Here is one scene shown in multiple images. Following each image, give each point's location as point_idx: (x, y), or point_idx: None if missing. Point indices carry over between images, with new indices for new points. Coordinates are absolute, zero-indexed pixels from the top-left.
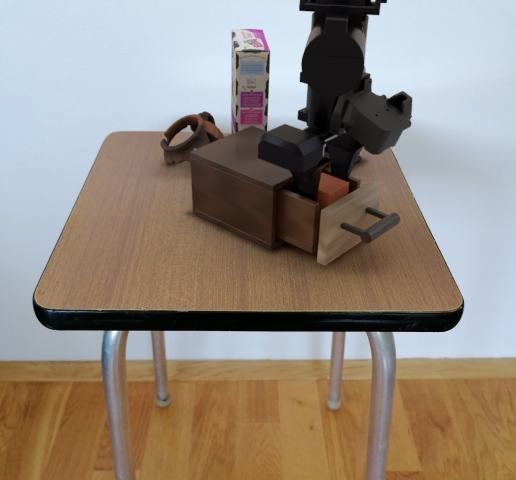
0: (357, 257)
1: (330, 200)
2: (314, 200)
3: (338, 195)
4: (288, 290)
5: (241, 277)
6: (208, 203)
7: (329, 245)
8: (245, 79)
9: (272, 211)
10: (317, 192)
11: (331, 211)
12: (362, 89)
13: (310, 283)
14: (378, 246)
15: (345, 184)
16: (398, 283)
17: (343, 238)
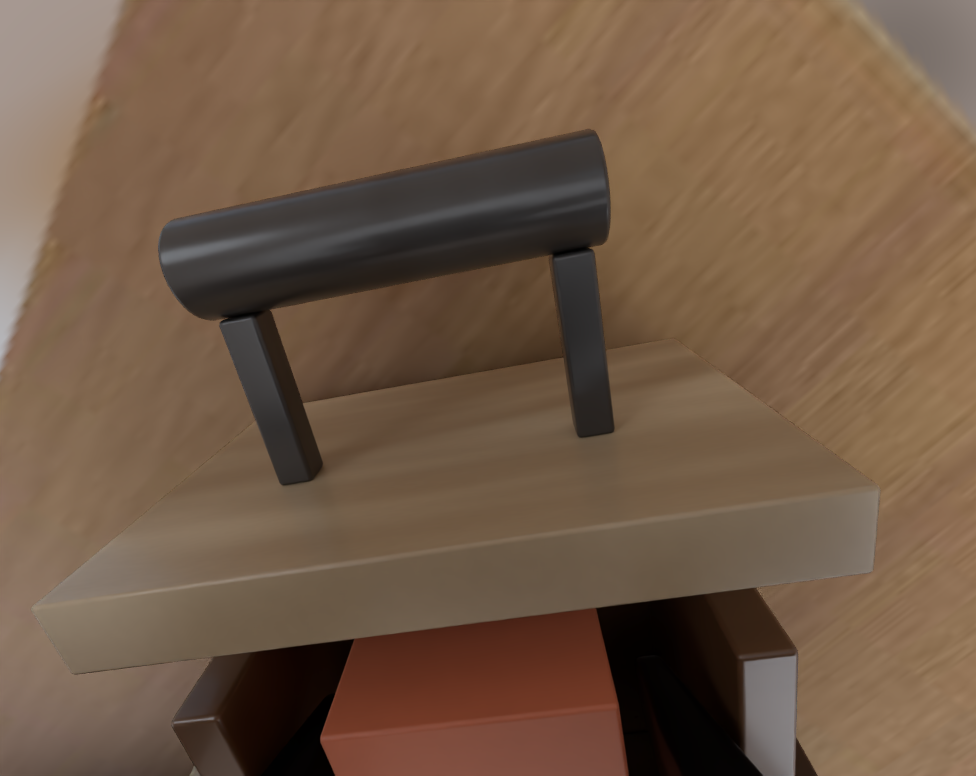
0: (451, 330)
1: (579, 646)
2: (682, 703)
3: (473, 662)
4: (889, 318)
5: (934, 498)
6: None
7: (691, 372)
8: None
9: (799, 743)
10: (692, 768)
11: (829, 505)
12: None
13: (776, 301)
14: (306, 340)
15: (373, 736)
16: (447, 20)
17: (547, 391)
